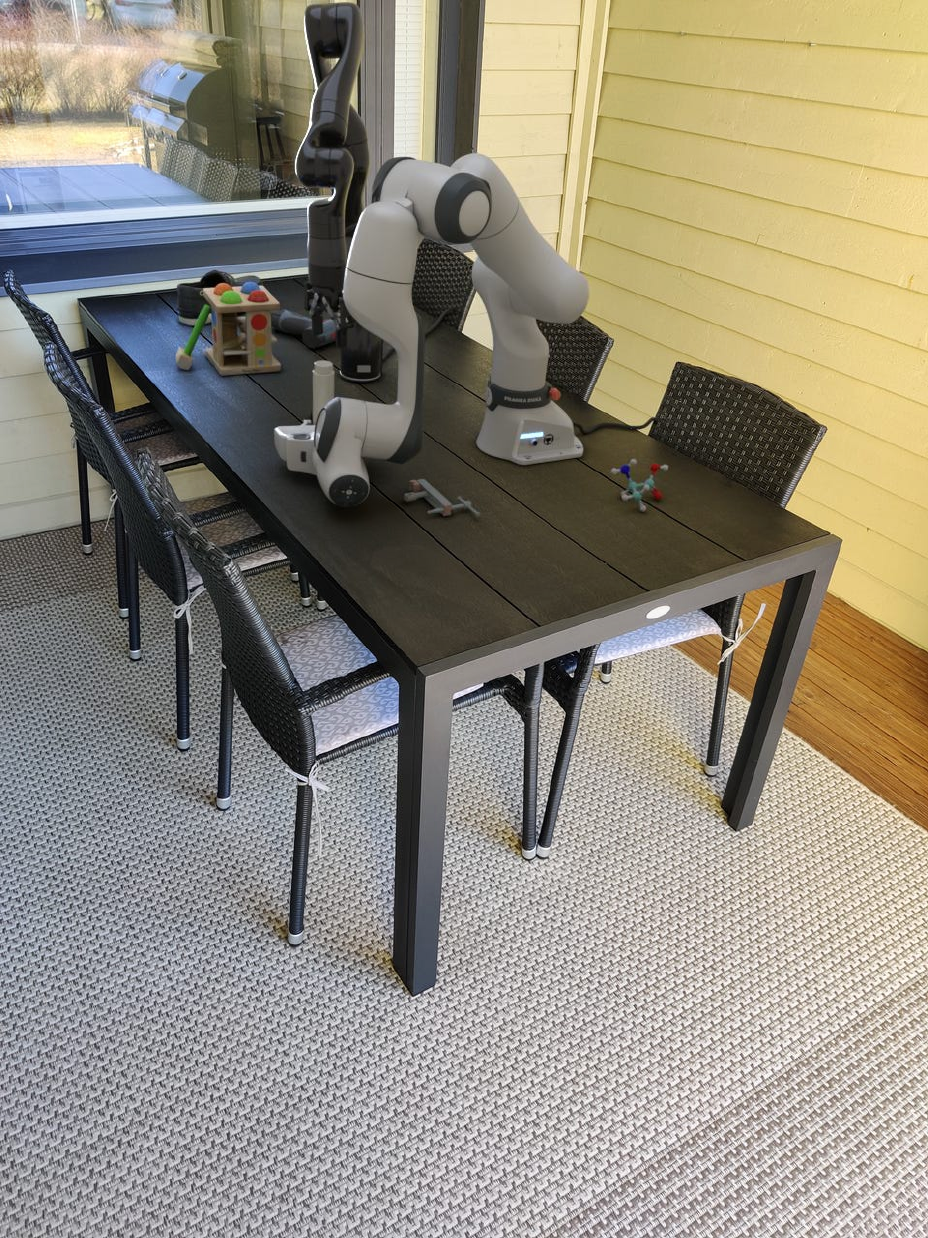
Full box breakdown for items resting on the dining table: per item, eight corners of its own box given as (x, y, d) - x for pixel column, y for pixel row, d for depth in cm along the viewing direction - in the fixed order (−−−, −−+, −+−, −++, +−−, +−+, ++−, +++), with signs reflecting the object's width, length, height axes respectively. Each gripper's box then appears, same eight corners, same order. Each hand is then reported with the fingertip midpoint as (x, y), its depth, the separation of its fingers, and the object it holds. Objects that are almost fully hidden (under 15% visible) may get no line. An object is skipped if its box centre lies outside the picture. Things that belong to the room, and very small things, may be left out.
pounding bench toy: (183, 379, 220) (176, 299, 210) (169, 357, 231) (162, 280, 221) (282, 371, 230) (280, 294, 220) (264, 350, 240) (262, 276, 230)
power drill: (305, 316, 264) (364, 334, 256) (257, 332, 251) (318, 351, 243) (305, 296, 261) (365, 314, 253) (257, 311, 248) (318, 330, 240)
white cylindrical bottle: (337, 451, 197) (338, 361, 186) (329, 459, 193) (329, 368, 183) (317, 447, 197) (317, 358, 187) (309, 455, 194) (309, 364, 184)
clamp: (395, 482, 182) (442, 474, 187) (394, 493, 183) (441, 484, 188) (433, 519, 172) (482, 509, 176) (432, 530, 173) (481, 520, 178)
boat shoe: (283, 304, 273) (281, 265, 267) (196, 327, 249) (192, 285, 243) (249, 295, 278) (246, 257, 273) (160, 318, 255) (156, 277, 249)
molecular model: (670, 504, 181) (654, 452, 180) (621, 519, 184) (605, 468, 183) (677, 496, 191) (662, 447, 190) (631, 511, 195) (616, 462, 194)
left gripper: (290, 252, 192) (294, 333, 202) (332, 271, 184) (334, 355, 193) (322, 247, 196) (325, 327, 206) (364, 265, 188) (365, 347, 197)
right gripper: (389, 435, 183) (375, 406, 194) (279, 439, 177) (270, 408, 188) (388, 465, 186) (374, 435, 197) (279, 470, 181) (271, 439, 192)
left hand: (329, 340), depth 199 cm, fingers open, 8 cm apart
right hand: (322, 422), depth 193 cm, fingers open, 5 cm apart
